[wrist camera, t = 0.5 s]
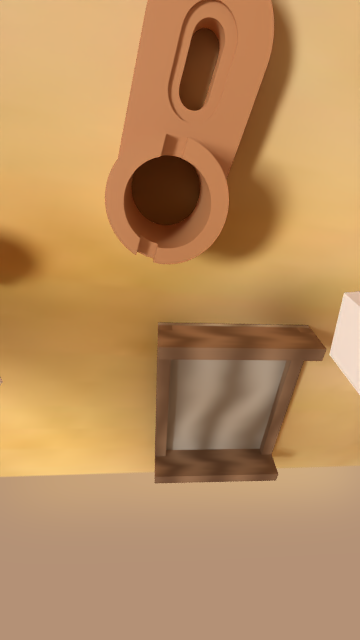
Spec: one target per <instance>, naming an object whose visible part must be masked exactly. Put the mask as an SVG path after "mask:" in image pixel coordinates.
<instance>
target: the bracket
mask: <svg viewBox="0 0 360 640" xmlns="http://www.w3.org/2000/svg"><path fill="white" fill-rule="evenodd" d="M202 28H207V29H210V30H211V31H213V32H214V33H215V35H216V36H217V38H218V41H219V55H218V58H217V62H216V65H215V68H214V72H213V75H212V79H211V82H210V86H209V89H208V92H207V96H206V99H205V102H204V105H203V106H202V108H201V109H200V110H197V111H192V110H189V109H187V108H186V107H185V106H184V105H183V104H182V102H181V100H180V97H179V86H180V82H181V78H182V74H183V70H184V66H185V62H186V58H187V54H188V50H189V46H190V42H191V38H192V36H193V34H194V33H195V32H196V31H197V30H199V29H202ZM273 39H274V14H273V7H272V1H271V0H148V2H147V7H146V11H145V16H144V22H143V27H142V32H141V38H140V43H139V49H138V54H137V59H136V65H135V70H134V75H133V81H132V86H131V91H130V97H129V102H128V107H127V113H126V118H125V123H124V129H123V134H122V140H121V145H120V150H119V156H118V159H117V161H116V162H115V164H114V166H113V167H112V169H111V172H110V174H109V177H108V180H107V185H106V192H105V205H106V212H107V216H108V219H109V222H110V225H111V227H112V229H113V231H114V233H115V234H116V236H117V237H118V239H119V240H120V241H121V242H122V244H123V245H124V246H125V247H126V248H127V249H129V250H130V251H131V252H132V253H134V254H135V255H136V253H137V252H139V253H141V254H143V255H145V256H148V257H151V258H153V262H155V263H159V264H177V263H182V262H185V261H188V260H191V259H193V258H195V257H197V256H198V255H200V254H201V253H203V252H204V251H205V250H207V249H208V248H209V247H210V246H211V245H212V244H213V243H214V241H215V240H216V239H217V237H218V236H219V234H220V232H221V230H222V228H223V226H224V224H225V221H226V217H227V214H228V207H229V192H228V185H227V182H226V180H227V177H228V174H229V171H230V168H231V166H232V163H233V160H234V157H235V154H236V152H237V149H238V146H239V143H240V140H241V138H242V135H243V132H244V129H245V127H246V124H247V121H248V118H249V115H250V113H251V110H252V107H253V104H254V101H255V99H256V96H257V93H258V90H259V88H260V85H261V82H262V79H263V76H264V74H265V71H266V68H267V65H268V62H269V59H270V55H271V51H272V45H273ZM163 155H171V156H176V157H180V158H182V159H184V160H186V161H188V162H189V163H191V164H192V166H193V167H194V169H195V171H196V173H197V175H198V178H199V183H200V194H199V199H198V202H197V205H196V207H195V208H194V210H193V211H192V213H191V214H190V215H189V216H188V217H187V218H185V219H184V220H182V221H181V222H178V223H176V224H172V225H161V224H157V223H154V222H152V221H150V220H148V219H147V218H145V217H144V216H143V215H142V214H141V213H140V211H139V210H138V209H137V207H136V205H135V203H134V200H133V197H132V190H131V185H132V178H133V175H134V172H135V170H136V169H137V168H138V167H139V166H141V165H142V164H143V163H145V162H146V161H148V160H150V159H153V158H156V157H161V156H163Z"/></svg>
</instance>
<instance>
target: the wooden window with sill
mask: <svg viewBox="0 0 360 640" xmlns="http://www.w3.org/2000/svg"><path fill="white" fill-rule="evenodd" d="M325 352H326V348H325V347H324V345H323V344H322V343H321V342H320V340H319V339H318V338H317V336H316V335H315V334H314V333H313V331H312V330H311V329H310V327H309V326H308V325H261V324H207V323H158V354H157V395H156V437H155V483H185V482H226V481H266V480H267V481H268V480H269V481H270V480H276V479H277V476H278V472H277V469H276V466H275V463H274V460H273V458H272V455H271V454H272V451H273V449H274V446H275V443H276V440H277V437H278V434H279V431H280V428H281V425H282V423H283V420H284V417H285V414H286V411H287V408H288V405H289V402H290V399H291V397H292V394H293V391H294V388H295V385H296V382H297V379H298V376H299V373H300V371H301V368H302V365H303V362H304V361H322V360H323V357H324V354H325Z"/></svg>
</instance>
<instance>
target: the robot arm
mask: <svg viewBox="0 0 360 640" xmlns="http://www.w3.org/2000/svg"><path fill="white" fill-rule="evenodd" d="M329 355H330V356H331V357H332V359H333V360H334V361H335V363H336V364H337V365H338V367H339V368H340V369H341V371H342V372H343V373H344V375H345V376H346V377H347V379H348V380H349V381H350V383H351V384H352V385H353V387H354V388H355V389H356V391H357V392H358V393H359V395H360V291H358V292H346V293H344V295H343V299H342V303H341V308H340V312H339V316H338V320H337V325H336V329H335V333H334V337H333V342H332V346H331V350H330V354H329ZM2 382H3V381H2V379H1V377H0V385H1V383H2Z"/></svg>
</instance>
